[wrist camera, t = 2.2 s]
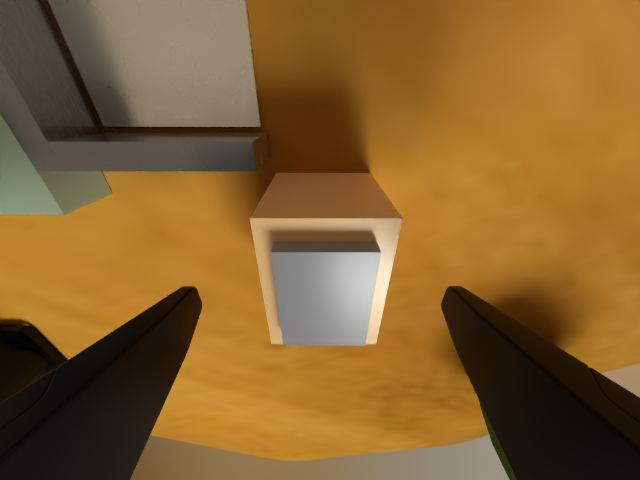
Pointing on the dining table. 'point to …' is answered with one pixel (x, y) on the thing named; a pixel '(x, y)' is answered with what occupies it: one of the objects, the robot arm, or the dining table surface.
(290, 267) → the tan and grey block
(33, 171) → the sage green knobbed slab
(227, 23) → the bracket
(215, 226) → the dining table surface
